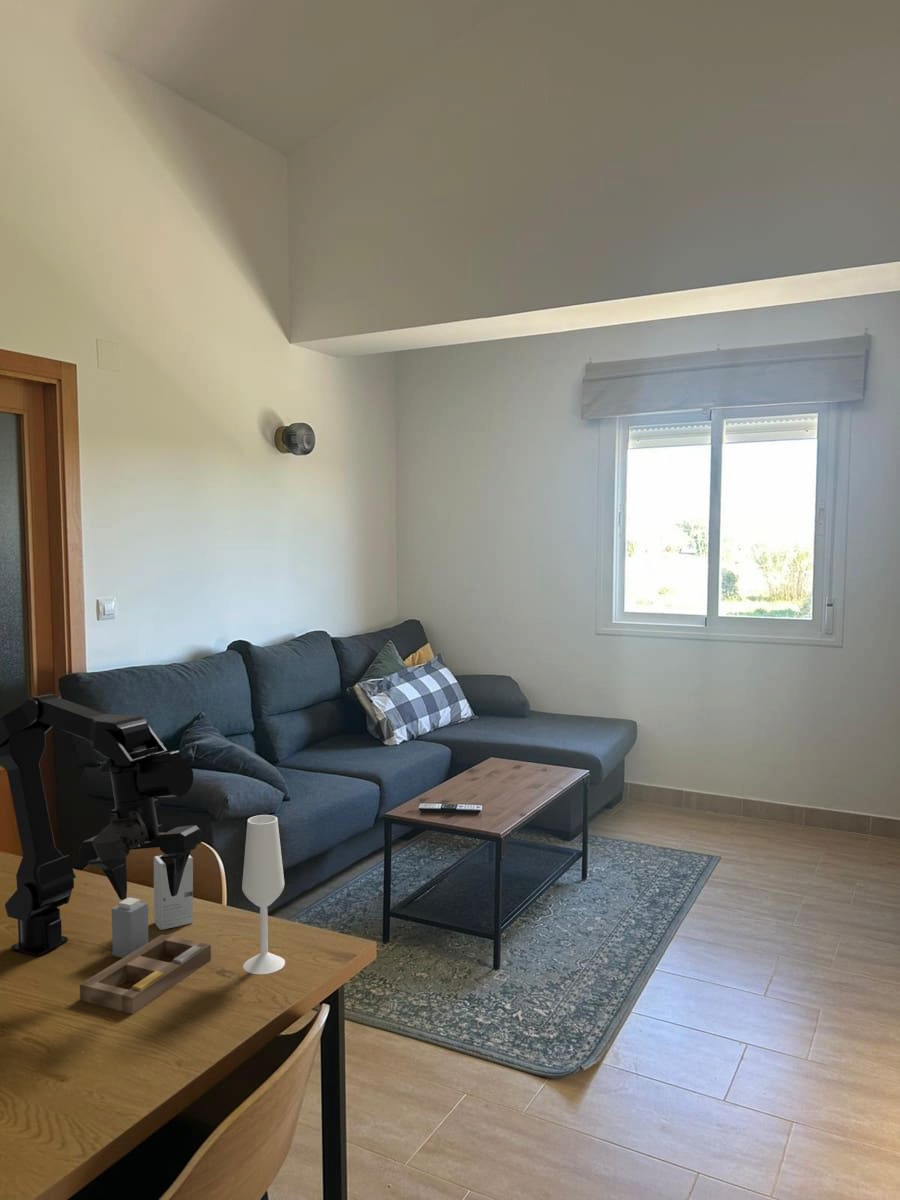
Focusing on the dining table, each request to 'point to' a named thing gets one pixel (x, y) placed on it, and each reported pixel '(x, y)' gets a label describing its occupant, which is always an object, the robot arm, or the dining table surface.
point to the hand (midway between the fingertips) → (148, 897)
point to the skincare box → (168, 907)
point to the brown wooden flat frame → (145, 973)
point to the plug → (129, 926)
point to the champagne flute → (263, 883)
